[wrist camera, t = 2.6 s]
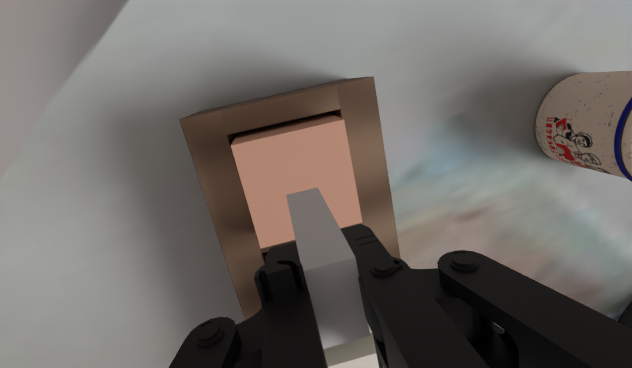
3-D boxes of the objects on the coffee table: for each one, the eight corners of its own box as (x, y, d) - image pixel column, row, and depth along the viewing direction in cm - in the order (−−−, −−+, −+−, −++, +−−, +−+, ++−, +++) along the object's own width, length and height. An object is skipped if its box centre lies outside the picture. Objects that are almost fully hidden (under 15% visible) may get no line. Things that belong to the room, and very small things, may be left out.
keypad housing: (393, 342, 38) (420, 397, 31) (280, 375, 37) (284, 438, 30) (348, 78, 29) (373, 76, 23) (199, 111, 28) (179, 119, 22)
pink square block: (345, 198, 27) (362, 222, 23) (261, 219, 27) (260, 248, 22) (329, 113, 25) (344, 119, 21) (237, 134, 25) (230, 145, 20)
